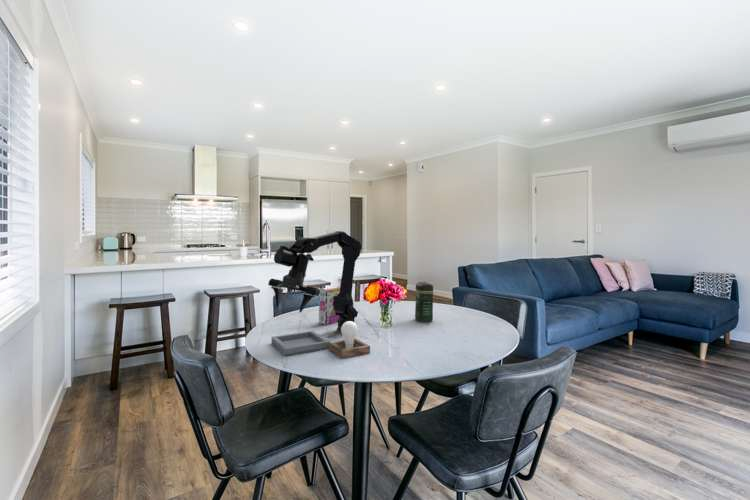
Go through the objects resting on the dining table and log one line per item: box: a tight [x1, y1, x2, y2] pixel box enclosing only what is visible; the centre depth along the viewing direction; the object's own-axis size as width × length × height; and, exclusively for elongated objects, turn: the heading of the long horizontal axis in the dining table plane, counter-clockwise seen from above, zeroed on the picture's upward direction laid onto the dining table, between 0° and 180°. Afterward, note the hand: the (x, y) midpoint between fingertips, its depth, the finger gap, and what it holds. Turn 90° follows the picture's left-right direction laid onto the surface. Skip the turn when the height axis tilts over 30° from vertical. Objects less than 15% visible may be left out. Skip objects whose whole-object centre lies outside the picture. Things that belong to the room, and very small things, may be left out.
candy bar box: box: [318, 286, 340, 326], centre depth 179 cm, size 11×5×16 cm, turn 144°
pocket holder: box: [328, 337, 371, 359], centre depth 138 cm, size 11×11×2 cm
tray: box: [271, 330, 331, 357], centre depth 144 cm, size 17×17×2 cm
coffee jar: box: [414, 281, 434, 323], centre depth 184 cm, size 10×8×19 cm
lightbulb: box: [340, 321, 359, 349], centre depth 138 cm, size 6×6×11 cm
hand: (288, 309), depth 143 cm, fingers open, 9 cm apart
